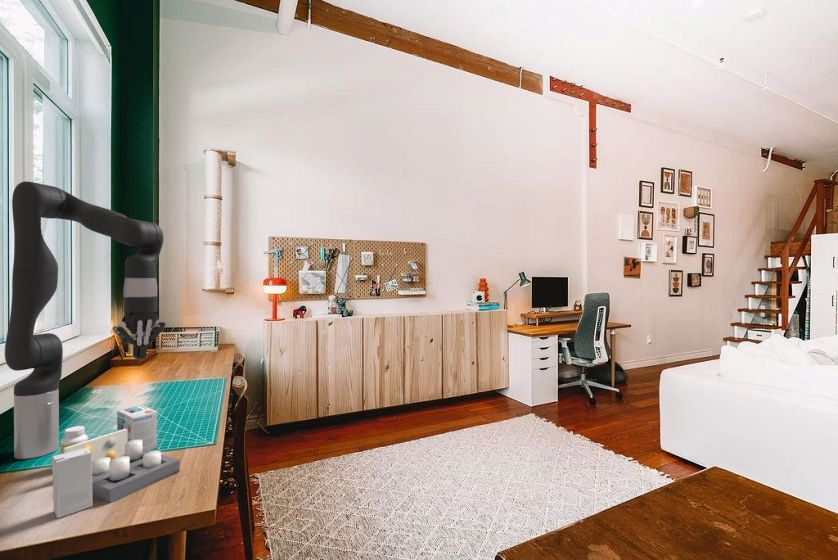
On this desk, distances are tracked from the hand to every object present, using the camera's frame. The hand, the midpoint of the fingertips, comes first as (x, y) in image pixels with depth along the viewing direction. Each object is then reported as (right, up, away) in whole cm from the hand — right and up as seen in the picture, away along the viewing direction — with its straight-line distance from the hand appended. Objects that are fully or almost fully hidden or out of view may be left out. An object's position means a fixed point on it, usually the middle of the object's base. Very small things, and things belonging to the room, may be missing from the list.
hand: (139, 358), depth 111 cm
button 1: (-1, -26, -12) cm, 29 cm away
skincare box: (+2, -28, -24) cm, 37 cm away
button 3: (+2, -25, -5) cm, 25 cm away
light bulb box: (-6, -28, +8) cm, 29 cm away
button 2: (+6, -25, -15) cm, 30 cm away
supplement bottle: (-15, -28, -3) cm, 32 cm away
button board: (+4, -28, -10) cm, 30 cm away
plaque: (-7, -28, -5) cm, 29 cm away
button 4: (+9, -26, -9) cm, 29 cm away
